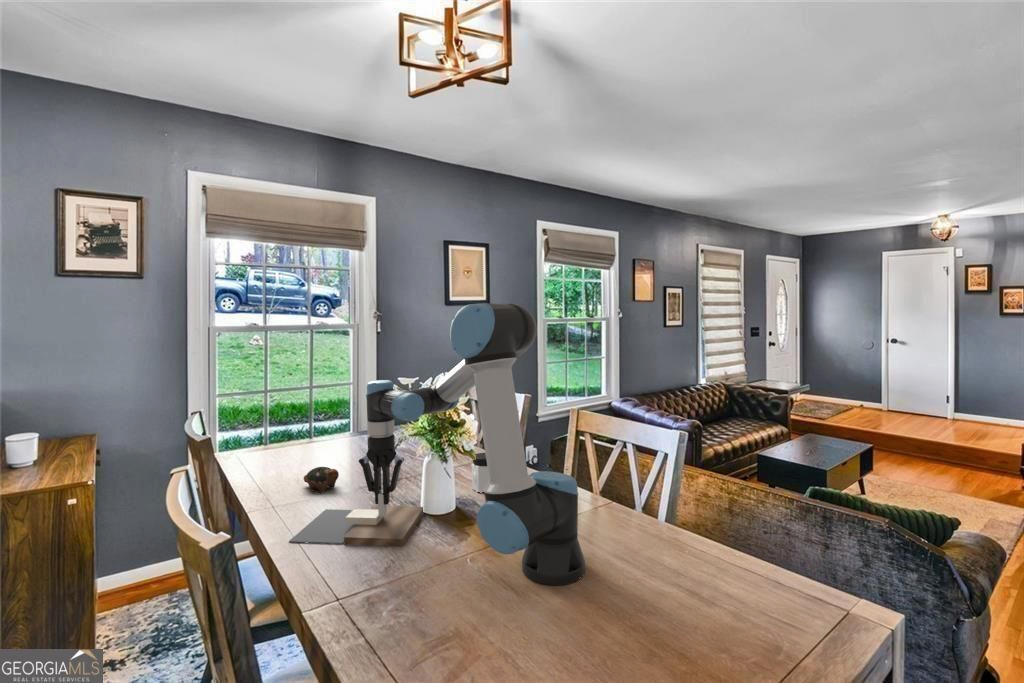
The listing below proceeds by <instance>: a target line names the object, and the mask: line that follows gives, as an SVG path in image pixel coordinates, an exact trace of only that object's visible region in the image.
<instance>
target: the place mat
mask: <svg viewBox="0 0 1024 683" xmlns="http://www.w3.org/2000/svg"><path fill="white" fill-rule="evenodd" d="M353 510H354V509H330V508H329V509H326V508H325V509H324V510H323V511H322V512H321V513H320V514H318V515H317V516H316V517H315V518H314V519H313V520H311V521H310V522H309V523H308V524H307V525H305V526H304V527H303V528H302V529H301V530H300V531H299V532H297V534H295V535H294V536H293V537H292V538H291V539H289V541H288V543H289V542H308V543H307V544H316V543H336V544H335V545H344V537H345V536H346V534H347V533H348V532H349V531H350V530H351V529H352V528H353V527H354V526H355V525H356V524H346V516H347V515H348V514H349V513H351V512H352V511H353Z"/></svg>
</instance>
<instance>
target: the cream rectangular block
mask: <svg viewBox="0 0 1024 683" xmlns="http://www.w3.org/2000/svg"><path fill="white" fill-rule="evenodd" d="M352 510H353V511H352V512H351V513H349V514H348V515H347V516H346V524H360V525H377V524H378V523H379V521H380V520H381V519H382V518H383V517H379V515H378V510H373V509H371V508H370V509H369V508H368V509H365V508H364V509H363V508H354V509H352Z"/></svg>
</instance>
